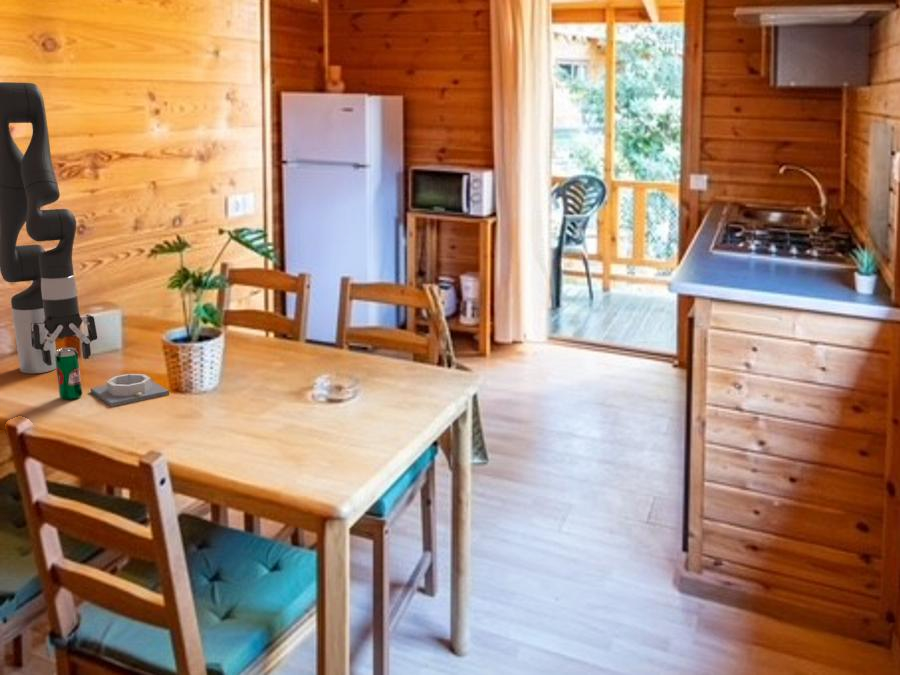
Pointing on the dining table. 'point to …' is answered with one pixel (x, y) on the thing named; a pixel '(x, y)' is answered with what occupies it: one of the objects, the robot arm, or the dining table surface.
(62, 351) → the soda can
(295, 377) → the dining table surface
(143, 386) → the grey can holder
